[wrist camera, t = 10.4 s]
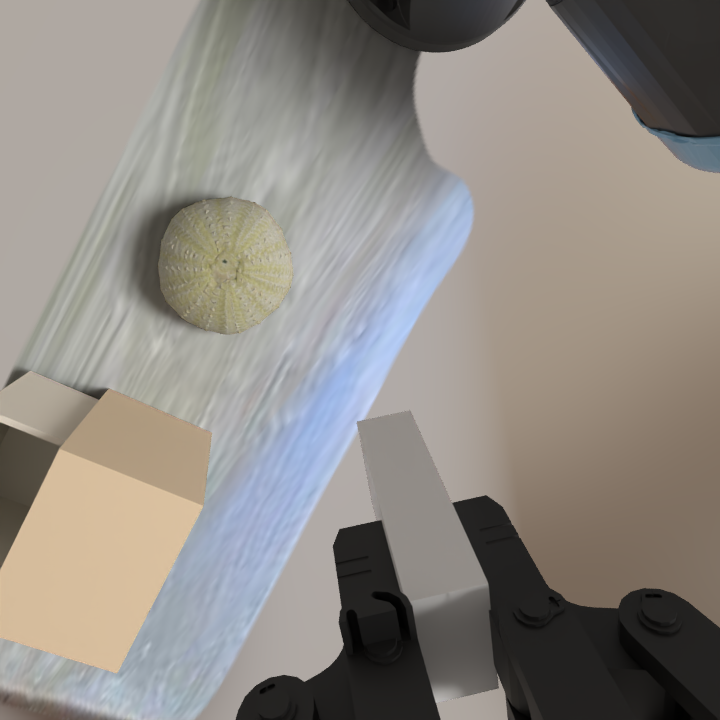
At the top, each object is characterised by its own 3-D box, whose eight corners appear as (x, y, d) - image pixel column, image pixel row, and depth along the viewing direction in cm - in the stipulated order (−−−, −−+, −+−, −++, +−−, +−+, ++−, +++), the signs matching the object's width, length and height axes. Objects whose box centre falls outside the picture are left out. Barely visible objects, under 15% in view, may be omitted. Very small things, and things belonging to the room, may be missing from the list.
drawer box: (168, 429, 45) (152, 475, 36) (112, 539, 46) (84, 610, 37) (30, 370, 42) (-23, 405, 34) (-27, 489, 43) (-92, 552, 35)
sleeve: (211, 432, 46) (203, 505, 34) (148, 557, 47) (117, 673, 35) (108, 388, 44) (59, 448, 32) (44, 520, 45) (-29, 628, 33)
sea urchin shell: (126, 305, 42) (153, 230, 36) (172, 232, 47) (203, 156, 41) (248, 366, 44) (292, 304, 38) (280, 290, 49) (323, 226, 43)
